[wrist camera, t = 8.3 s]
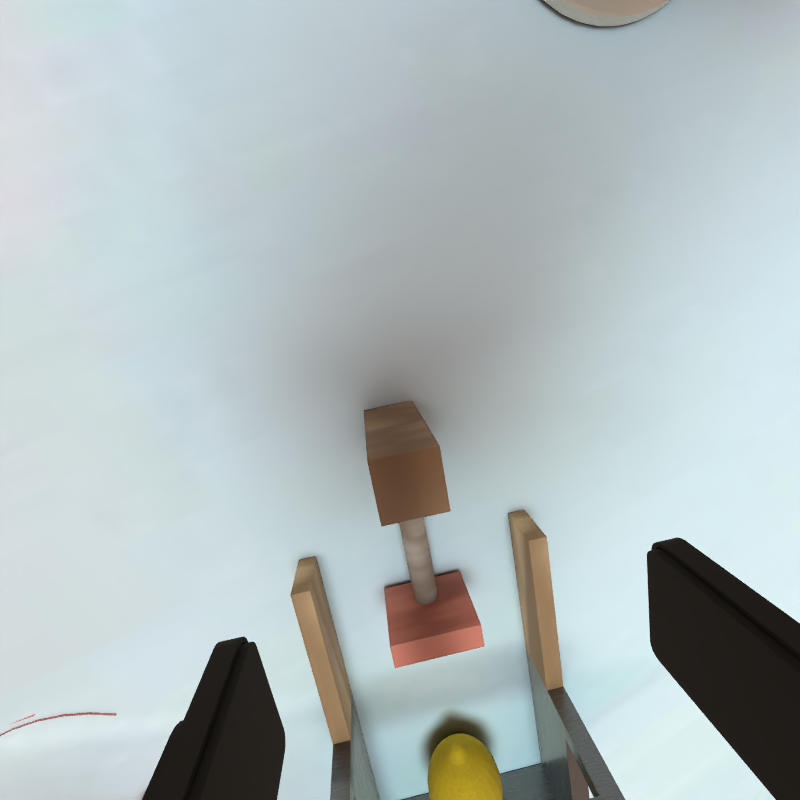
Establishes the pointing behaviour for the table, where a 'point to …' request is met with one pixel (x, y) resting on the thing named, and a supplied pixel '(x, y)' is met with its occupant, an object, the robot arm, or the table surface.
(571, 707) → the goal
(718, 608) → the robot arm
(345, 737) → the lane
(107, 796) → the table surface
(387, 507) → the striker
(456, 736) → the lemon
